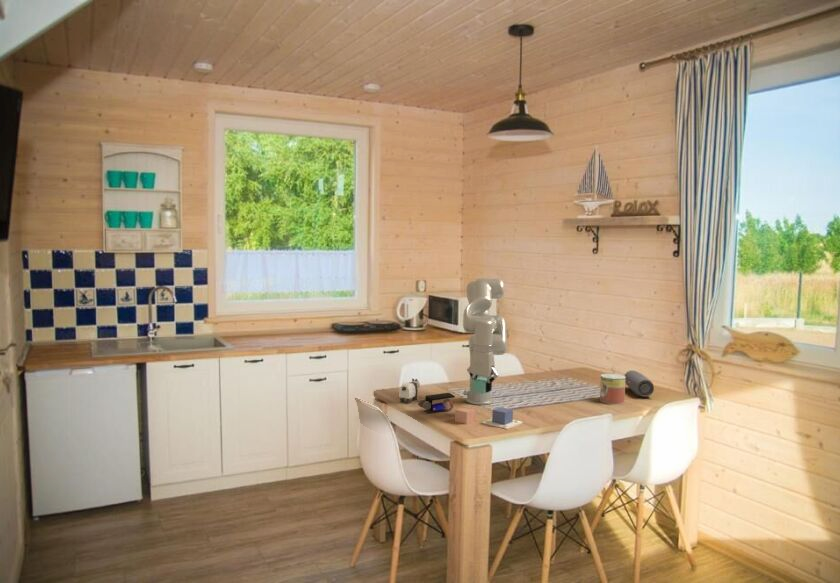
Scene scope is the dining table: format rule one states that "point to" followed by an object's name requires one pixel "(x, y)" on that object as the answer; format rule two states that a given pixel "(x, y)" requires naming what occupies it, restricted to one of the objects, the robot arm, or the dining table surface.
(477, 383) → the teal brick
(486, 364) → the robot arm
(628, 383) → the bluetooth speaker
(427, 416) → the dining table surface
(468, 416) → the coral brick
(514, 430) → the dining table surface
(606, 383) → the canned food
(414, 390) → the giant panda
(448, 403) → the figurine character
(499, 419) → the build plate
